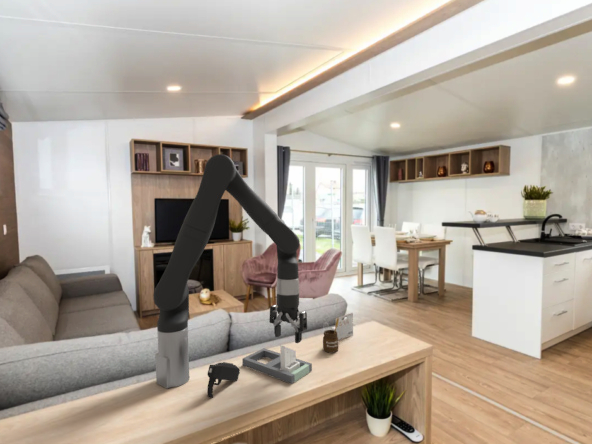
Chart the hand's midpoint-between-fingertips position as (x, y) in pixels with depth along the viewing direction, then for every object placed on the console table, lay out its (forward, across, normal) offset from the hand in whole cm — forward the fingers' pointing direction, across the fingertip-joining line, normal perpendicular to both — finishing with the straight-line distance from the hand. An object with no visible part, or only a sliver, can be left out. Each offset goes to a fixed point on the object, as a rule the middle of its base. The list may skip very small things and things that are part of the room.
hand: (287, 339), depth 118 cm
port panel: (+11, -5, 0) cm, 12 cm away
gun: (+12, -10, -19) cm, 24 cm away
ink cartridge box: (+11, -1, +38) cm, 40 cm away
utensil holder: (+11, +2, +24) cm, 27 cm away
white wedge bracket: (+12, +1, 0) cm, 12 cm away
